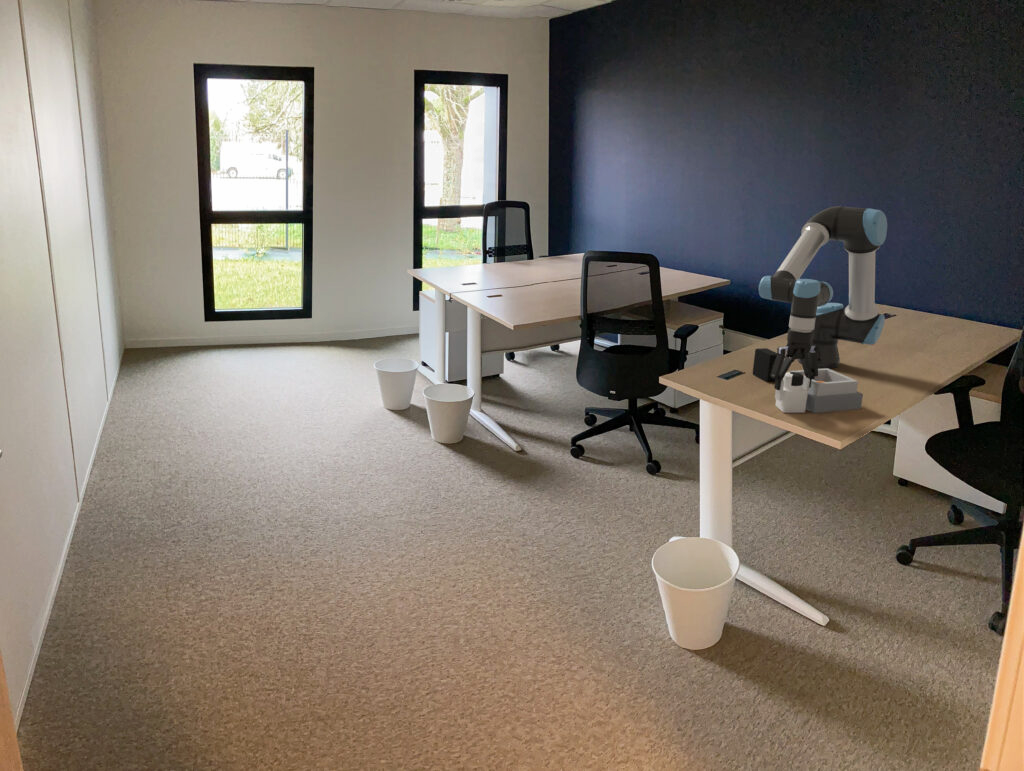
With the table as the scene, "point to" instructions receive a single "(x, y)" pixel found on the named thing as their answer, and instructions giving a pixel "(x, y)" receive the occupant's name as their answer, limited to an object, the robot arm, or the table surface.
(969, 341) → the table surface
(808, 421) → the table surface
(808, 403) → the grey open box
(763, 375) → the electronic device
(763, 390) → the table surface
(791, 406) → the medicine bottle
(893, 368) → the table surface
